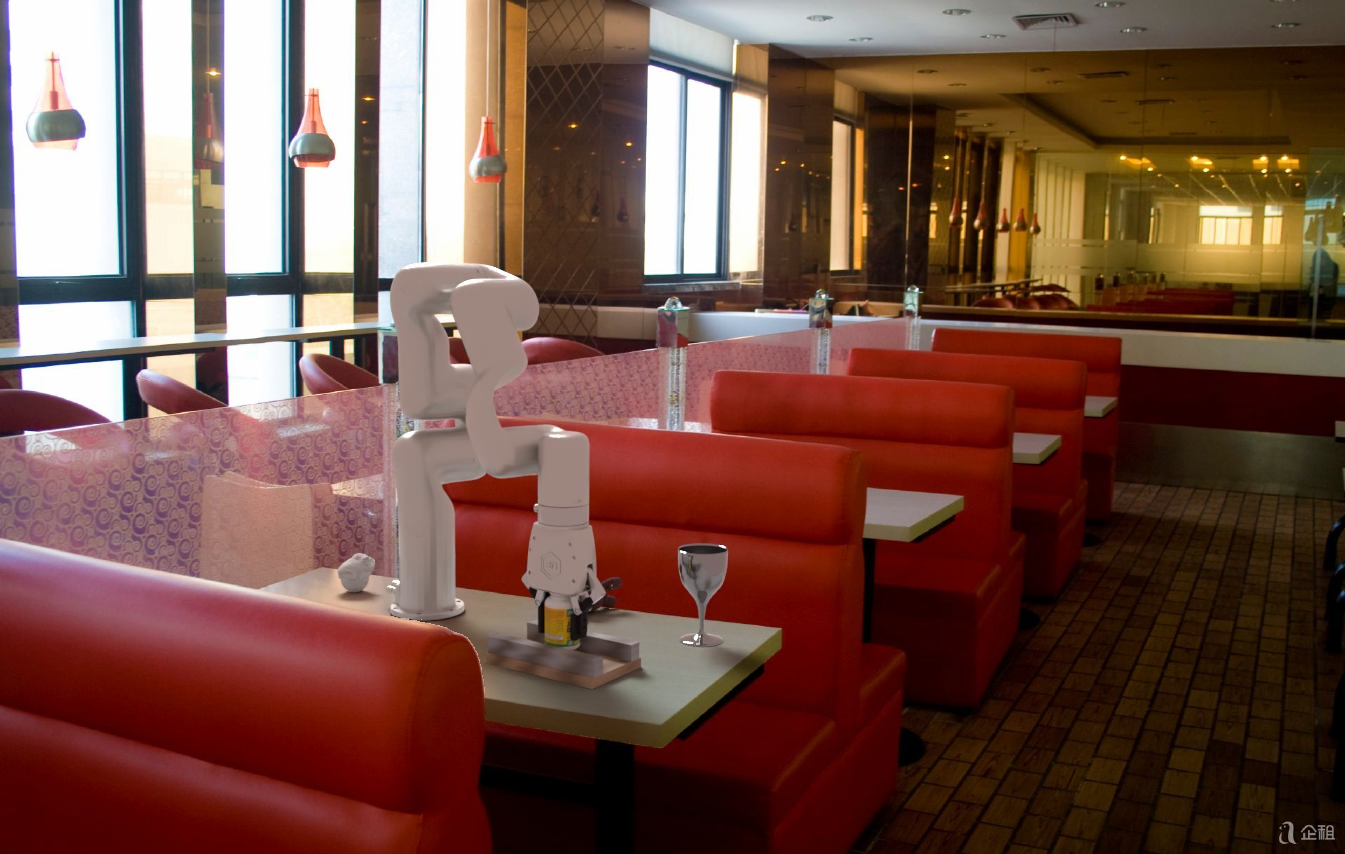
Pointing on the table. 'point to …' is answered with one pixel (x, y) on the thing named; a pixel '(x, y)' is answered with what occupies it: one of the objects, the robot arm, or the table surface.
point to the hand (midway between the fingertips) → (562, 633)
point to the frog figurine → (356, 572)
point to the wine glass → (702, 583)
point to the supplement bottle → (559, 622)
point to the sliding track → (565, 676)
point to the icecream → (607, 600)
